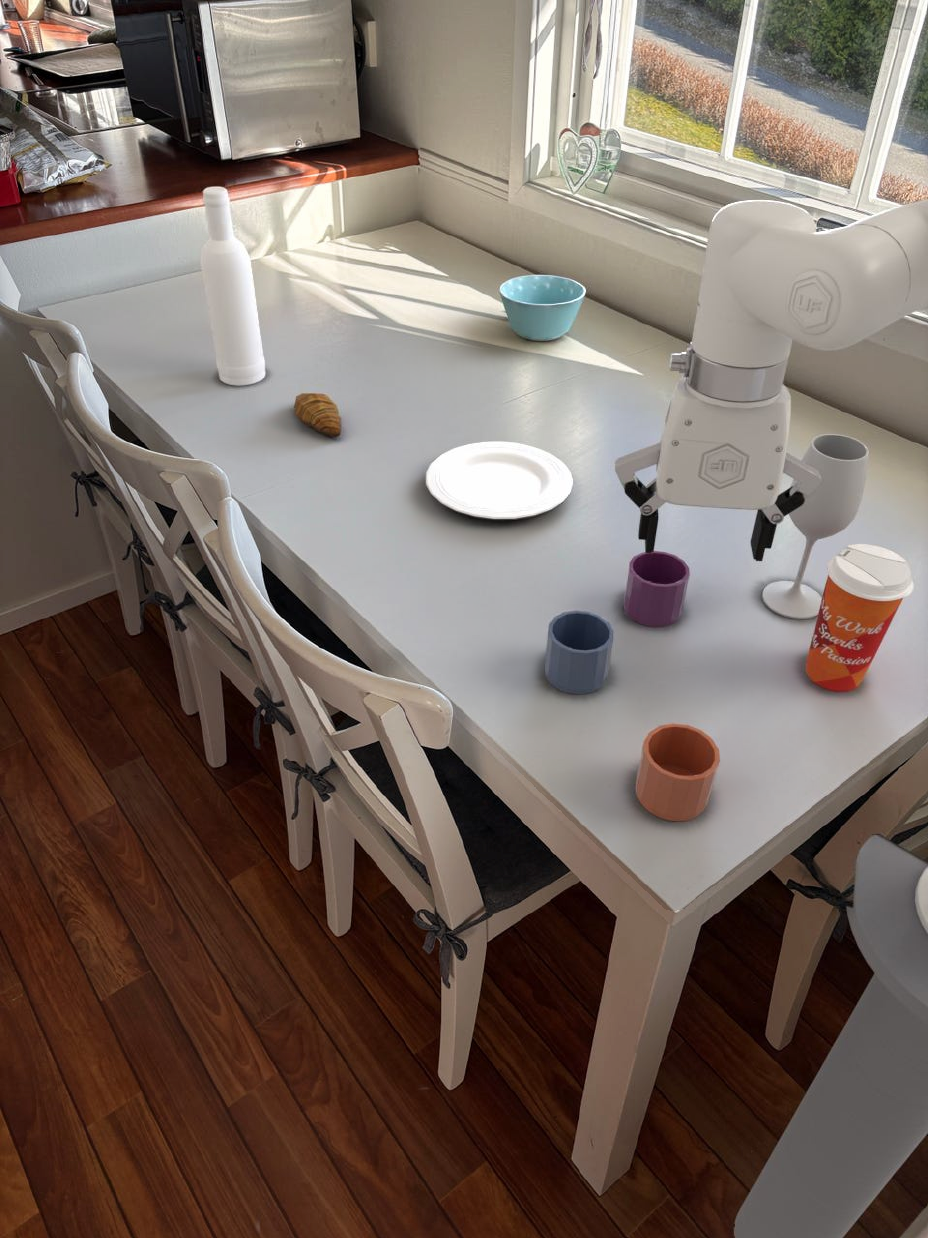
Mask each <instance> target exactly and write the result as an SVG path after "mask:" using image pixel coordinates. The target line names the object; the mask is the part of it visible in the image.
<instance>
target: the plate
mask: <svg viewBox="0 0 928 1238" xmlns="http://www.w3.org/2000/svg"><path fill="white" fill-rule="evenodd" d="M425 486H426V489H428V492H429V494H430V496H431V497H433V498H434V499H435V500H436V501H437V502H438V503H440V504H441V505H442V506H444V507H446V508H448V509H450V510H452V511H454V512H456V513H458V514H460V515H461V514H462V515H464V516H468V517H470V518H475V519H483V520H490V521H517V520H523V519H528V518H529V519H530V518H534V517H537V516H539V515H540V516H541V515H542V514H546V513H548V512H551V511H552V510H554V509H555V508H557V507H559V506H560V505H562V504H563V503H564V502H565V501H566V500H567V498H569V496H570V495H571V493H572V489H573V486H574V480H573V476H572V472H571V471H570V469H569V468H568V467H567V465H566V464H565V463H564V462H563V461H562V460H560V459H559V458H558V457H556V456H555V455H554V454H552V453H550V452H547V451H545V450H543V449H541V448H538V447H535V446H531V445H527V444H523V443H519V442H510V441H480V442H474V443H468V444H467V443H466V444H465V445H461V446H457V447H454V448H451V449H450V450H448V451H446V452H444V453H442V454H440V455H439V456H438V457H437V458H435V459H434V460H433V461H432V462H431V463H430V464H429V466H428V468H427V470H426V472H425Z"/></svg>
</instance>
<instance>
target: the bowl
mask: <svg viewBox="0 0 928 1238" xmlns="http://www.w3.org/2000/svg"><path fill="white" fill-rule="evenodd" d="M498 290H499V291H498V292H499V295H500V299H501V302H502V305H503V308H504V311H505V315H506V317H507V321H508V323H509V326H510V328H511V330H513V331H514V332H515V333H516V334H517V335H518V336H519V337H520V338H523V339H525V340H528V341H533V342H534V341H535V342H548V341H549V342H550V341H554V340H557V339H559V338H561V337H563V336H564V335H565V334H567V333H568V332H569V331H570V329H571V327H572V326H573V323H574V321H575V319H576V317H577V315H578V313H579V310H580V308H581V306H582V303H583V301H584V298H585V296H586V292H587V291H586V288H585V286H584V285H582V284H581V283H579V282H578V281H576V280H573V279H571V278H568V277H564V276H559V275H552V274H551V275H550V274H529V275H522V276H517V277H513V278H510V279H508V280H506V281H504V282H503V283H502V284H500V286H499V289H498Z"/></svg>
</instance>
